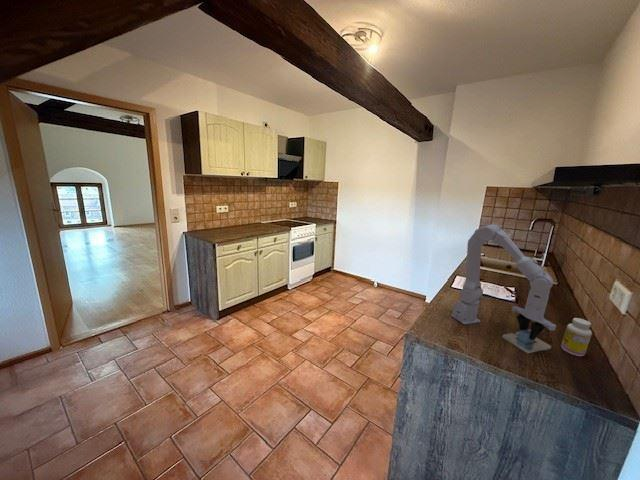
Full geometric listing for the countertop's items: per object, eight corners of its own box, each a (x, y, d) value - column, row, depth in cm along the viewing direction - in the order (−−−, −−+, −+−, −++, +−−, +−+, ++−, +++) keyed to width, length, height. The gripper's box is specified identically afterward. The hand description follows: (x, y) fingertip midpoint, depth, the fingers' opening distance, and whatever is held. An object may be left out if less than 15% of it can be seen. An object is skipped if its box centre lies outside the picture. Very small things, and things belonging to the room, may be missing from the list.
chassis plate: (527, 353, 94) (528, 350, 94) (502, 337, 104) (502, 334, 103) (550, 348, 98) (551, 346, 97) (523, 333, 107) (524, 331, 107)
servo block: (524, 345, 98) (527, 333, 97) (516, 340, 101) (519, 329, 100) (534, 343, 100) (537, 331, 99) (526, 338, 103) (529, 327, 101)
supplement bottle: (559, 343, 101) (568, 314, 98) (583, 350, 97) (593, 320, 94) (561, 351, 96) (570, 321, 93) (585, 359, 92) (596, 328, 89)
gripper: (565, 313, 91) (555, 346, 94) (524, 295, 105) (516, 324, 108) (551, 315, 89) (542, 349, 92) (511, 297, 103) (504, 326, 106)
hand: (527, 336), depth 100 cm, fingers closed on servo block, 3 cm apart
